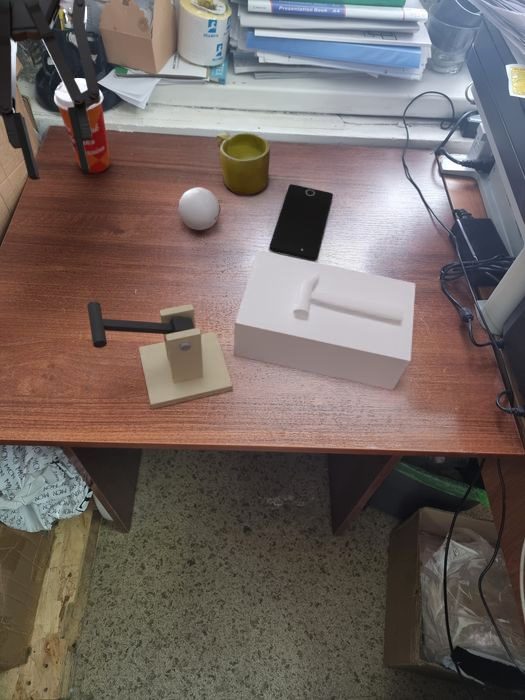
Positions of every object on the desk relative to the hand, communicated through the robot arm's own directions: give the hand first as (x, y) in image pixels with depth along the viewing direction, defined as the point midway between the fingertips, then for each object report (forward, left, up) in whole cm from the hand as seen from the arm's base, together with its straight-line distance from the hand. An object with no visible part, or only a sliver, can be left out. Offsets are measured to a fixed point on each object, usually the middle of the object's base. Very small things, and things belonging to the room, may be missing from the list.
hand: (60, 174), depth 57 cm
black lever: (+5, -12, -16) cm, 21 cm away
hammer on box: (+32, -11, -28) cm, 44 cm away
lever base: (+10, -12, -28) cm, 32 cm away
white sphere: (+20, +19, -28) cm, 39 cm away
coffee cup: (+3, +39, -28) cm, 48 cm away
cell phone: (+38, +14, -28) cm, 49 cm away
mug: (+30, +29, -28) cm, 50 cm away
